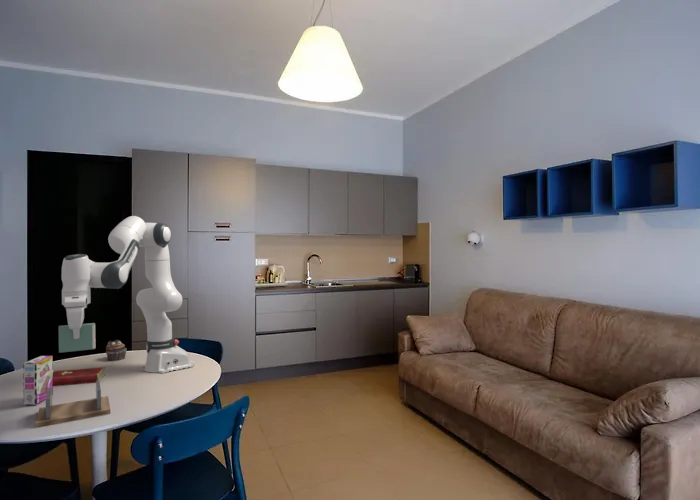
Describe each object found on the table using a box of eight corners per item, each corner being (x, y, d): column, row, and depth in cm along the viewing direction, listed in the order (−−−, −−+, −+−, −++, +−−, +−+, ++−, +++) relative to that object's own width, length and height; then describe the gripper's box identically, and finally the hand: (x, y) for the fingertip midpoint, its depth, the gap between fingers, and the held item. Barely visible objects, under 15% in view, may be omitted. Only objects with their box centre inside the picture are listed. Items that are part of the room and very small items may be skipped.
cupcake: (114, 362, 225) (114, 343, 225) (101, 360, 229) (101, 341, 229) (130, 357, 234) (130, 339, 234) (118, 355, 238) (118, 337, 238)
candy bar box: (37, 405, 167) (35, 362, 167) (23, 406, 167) (21, 363, 166) (54, 395, 178) (53, 355, 178) (41, 395, 178) (40, 355, 177)
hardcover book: (98, 383, 194) (98, 374, 194) (43, 388, 188) (43, 378, 188) (105, 375, 205) (105, 366, 205) (54, 379, 200) (54, 370, 200)
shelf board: (108, 399, 173) (107, 396, 172) (110, 413, 159) (110, 409, 159) (39, 411, 161) (39, 407, 161) (35, 427, 147) (35, 423, 147)
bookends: (99, 398, 170) (99, 380, 170) (101, 409, 159) (100, 390, 158) (48, 407, 161) (47, 388, 161) (46, 419, 150) (45, 399, 150)
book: (59, 350, 159) (59, 325, 159) (95, 346, 164) (95, 322, 164) (58, 352, 156) (58, 327, 155) (95, 348, 161) (94, 324, 161)
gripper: (68, 296, 167) (69, 332, 167) (63, 303, 149) (64, 343, 149) (87, 295, 170) (88, 331, 170) (85, 301, 152) (85, 341, 152)
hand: (77, 337), depth 160 cm, fingers closed on book, 3 cm apart
